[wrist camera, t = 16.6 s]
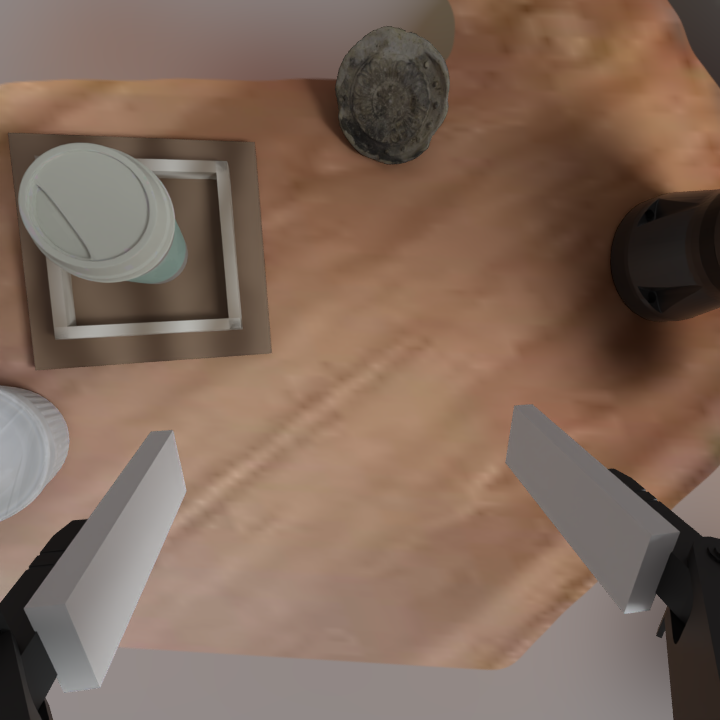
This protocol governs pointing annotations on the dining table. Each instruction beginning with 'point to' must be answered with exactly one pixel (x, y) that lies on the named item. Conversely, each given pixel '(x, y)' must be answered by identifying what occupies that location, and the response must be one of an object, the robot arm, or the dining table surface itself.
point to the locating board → (168, 300)
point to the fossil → (392, 95)
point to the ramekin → (28, 447)
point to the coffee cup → (101, 215)
